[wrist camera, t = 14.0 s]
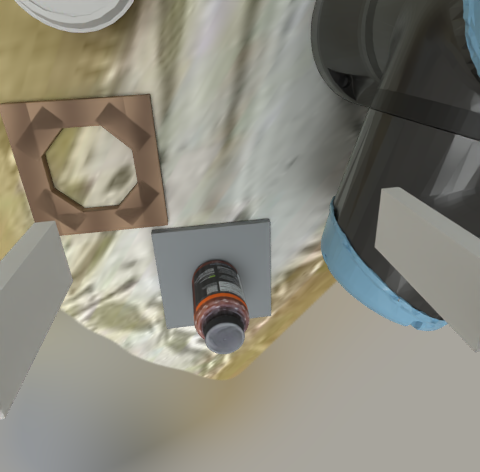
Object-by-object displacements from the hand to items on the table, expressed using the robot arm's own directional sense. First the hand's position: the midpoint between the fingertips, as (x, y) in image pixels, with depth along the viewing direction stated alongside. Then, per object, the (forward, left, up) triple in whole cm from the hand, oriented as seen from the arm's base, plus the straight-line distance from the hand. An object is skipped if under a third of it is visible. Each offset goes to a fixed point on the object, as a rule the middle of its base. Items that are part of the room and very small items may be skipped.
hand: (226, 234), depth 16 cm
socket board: (+12, +4, -28) cm, 30 cm away
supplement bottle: (0, +19, -27) cm, 33 cm away
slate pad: (0, +19, -28) cm, 34 cm away
